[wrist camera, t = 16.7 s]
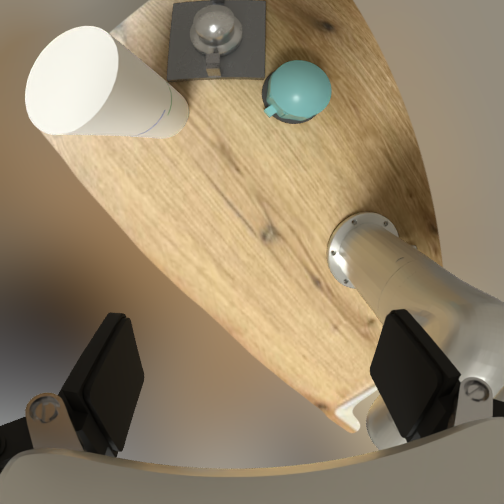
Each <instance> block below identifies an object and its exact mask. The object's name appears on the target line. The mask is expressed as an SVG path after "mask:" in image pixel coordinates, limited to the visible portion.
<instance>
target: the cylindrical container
mask: <svg viewBox="0 0 504 504" xmlns="http://www.w3.org/2000/svg"><path fill="white" fill-rule="evenodd" d="M25 94H26V95H25V102H26V109H27V112H28V115H29V118H30V119H31V121H32V122H33V124H34V125H35V126H36V127H37V128H38V129H39V130H41V131H43V132H45V133H47V134H52V135H112V136H132V137H147V138H161V139H163V138H169V137H172V136H174V135H176V134H177V133H178V132H180V131H181V130H182V129H183V127H184V126H185V124H186V122H187V120H188V116H189V107H188V104H187V102H186V100H185V98H184V97H183V96H182V95H181V94H180V93H179V92H178V91H177V90H175V89H174V88H173V87H172V86H171V85H170V84H169V83H168V82H166V81H165V80H164V79H163V78H162V77H161V76H159V75H158V74H157V73H156V72H155V71H154V70H153V69H151V68H150V67H149V66H148V65H147V64H145V63H144V62H143V61H142V60H141V59H140V58H138V57H137V56H136V55H135V54H133V53H132V52H131V51H130V50H129V49H127V48H126V47H125V46H124V45H122V44H121V43H120V42H119V41H117V40H116V39H115V38H114V37H112V36H111V35H110V34H109V33H107V32H106V31H104V30H102V29H101V28H97V27H94V26H82V27H77V28H73V29H71V30H69V31H66V32H64V33H63V34H61V35H60V36H58V37H56V38H55V39H54V40H53V41H52V42H51V43H50V44H48V45H47V47H46V48H45V49H44V50H43V51H42V52H41V54H40V55H39V57H38V58H37V60H36V61H35V63H34V66H33V67H32V69H31V72H30V74H29V77H28V80H27V85H26V92H25Z"/></svg>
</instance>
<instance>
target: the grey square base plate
mask: <svg viewBox="0 0 504 504" xmlns="http://www.w3.org/2000/svg"><path fill="white" fill-rule="evenodd" d="M265 12H266V1H256V0H210V1H196V2H184V3H175V4H173V12H172V21H171V31H170V42H169V55H168V70H167V81H168V82H176V81H190V80H213V79H251V80H264V78H265Z"/></svg>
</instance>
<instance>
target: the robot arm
mask: <svg viewBox="0 0 504 504" xmlns="http://www.w3.org/2000/svg"><path fill="white" fill-rule="evenodd" d="M352 220H353V222H352ZM383 223H384V224H383ZM332 250H333V252H331V251H332ZM327 262H328V267H329V269H330V271H331V273H332V274H333V276H334V277H335V278H336V280H337V281H338V282H339V283H341V284H342V285H344V286H346V287H349V288H354V289H357V291H358V292H359V293H360V295H361V296H362V297H363V299H364V300H365V301H366V303H367V304H368V305H369V307H370V308H371V309H372V311H373V312H374V313H375V315H376V316H377V318H378V319H379V320H380V322H381V323H382V324H383V328H382V332H381V335H380V338H379V342H378V345H377V348H376V351H375V354H374V357H373V360H372V363H371V366H370V375H371V377H372V379H373V381H374V383H375V385H376V387H377V389H378V390H379V393H380V395H379V396H378V397H377V399H376V400H375V401H374V403H373V404H372V406H371V407H370V409H369V412H368V415H367V419H366V427H367V431H368V434H369V436H370V438H371V440H372V442H373V443H374V444H375V446H376V447H377V448H378V449H379V451H375V452H372V453H367V454H363V455H358V456H353V457H348V458H343V459H338V460H332V461H326V462H319V463H312V464H304V465H296V466H285V467H271V468H251V469H250V468H249V469H215V468H193V467H181V466H170V465H162V464H154V463H146V462H140V461H133V460H127V459H121V458H116V457H117V454H118V451H122V450H123V448H124V444H125V441H126V437H127V434H128V430H129V427H130V423H131V420H132V417H133V413H134V410H135V407H136V404H137V401H138V398H139V394H140V391H141V388H142V385H143V382H144V372H143V368H142V365H141V361H140V357H139V353H138V349H137V345H136V341H135V338H134V333H133V328H132V324H131V320H130V318H126V316H125V314H122V313H109V314H108V315H107V316H106V318H105V319H104V321H103V322H102V324H101V325H100V327H99V328H98V330H97V331H96V333H95V335H94V336H93V338H92V339H91V341H90V343H89V344H88V346H87V347H86V348H85V350H84V352H83V353H82V355H81V356H80V358H79V360H78V361H77V363H76V365H75V366H74V368H73V370H72V371H71V373H70V375H69V377H68V379H67V380H66V382H65V383H64V385H63V387H62V389H61V391H60V392H59V394H58V395H56V394H54V393H42V394H39V395H36V396H35V397H33V398H32V399H31V400H30V401H29V403H28V404H27V406H26V409H25V415H26V417H23V418H20V419H18V420H15V421H13V422H10V423H7V424H4V425H2V426H0V504H504V302H502V301H501V300H499V299H498V298H495V297H494V296H491V295H489V294H487V293H485V292H483V291H481V290H479V289H477V288H475V287H473V286H471V285H469V284H468V283H466V282H464V281H462V280H460V279H459V278H458V277H456V276H455V275H453V274H451V273H450V272H448V271H447V270H445V269H444V268H443V267H441V266H440V265H438V264H437V263H436V262H434V261H433V260H431V259H430V258H428V257H427V256H426V255H424V254H423V253H421V252H420V251H418V250H417V248H416V246H415V245H409V244H408V243H406V242H405V241H403V240H402V239H400V238H399V235H398V232H397V230H396V228H395V226H394V225H393V224H392V222H391V221H390V220H388V219H387V218H386V217H384V216H382V215H380V214H378V213H374V212H361V213H357V214H354V215H352V216H350V217H348V218H347V219H345V220H344V221H343V222H342V223H341V224H339V226H338V227H337V228H336V229H335V231H334V232H333V234H332V236H331V238H330V241H329V244H328V248H327Z"/></svg>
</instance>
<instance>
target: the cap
mask: <svg viewBox="0 0 504 504" xmlns="http://www.w3.org/2000/svg"><path fill="white" fill-rule="evenodd" d="M330 98H331V84H330V81H329V79H328V77H327V75H326V74H325V73H324V72H323V70H322V69H320V68H319V67H318V66H316V65H315V64H313V63H310V62H307V61H302V60H294V61H289V62H287V63H285V64H283V65H281V66H280V67H279V68H278V69H277V70H276V71H275V72H274V73H273V74H272V75H271V77H270V79H269V81H268V90H267V98H266V101H267V103H268V104H269V105H270V106H269V107H268V108H266V109H265V110H264V112H265V113H266V115H267V116H268V117H269V118H270V117H271V116H272V115H274V114H275V113H277V115H278V116H279V117H281V118H285V119H292V120H298V121H303V120H306V119H308V118H310V117H312V116H313V115H316V114H318V113H319V112H321V111H322V110H323V109H324V108H325V107H326V106H327V105H328V103H329V101H330Z"/></svg>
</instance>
